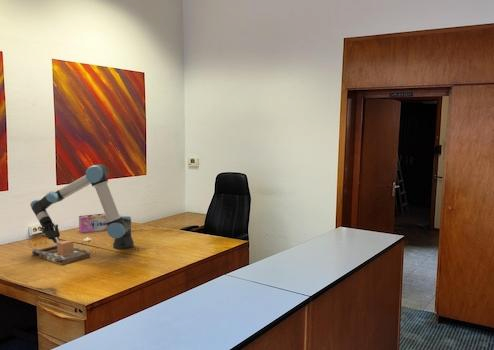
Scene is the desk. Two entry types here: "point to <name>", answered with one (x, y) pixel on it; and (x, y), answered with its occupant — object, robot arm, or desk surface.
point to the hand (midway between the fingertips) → (59, 245)
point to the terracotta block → (65, 247)
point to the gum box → (92, 223)
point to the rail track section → (53, 255)
